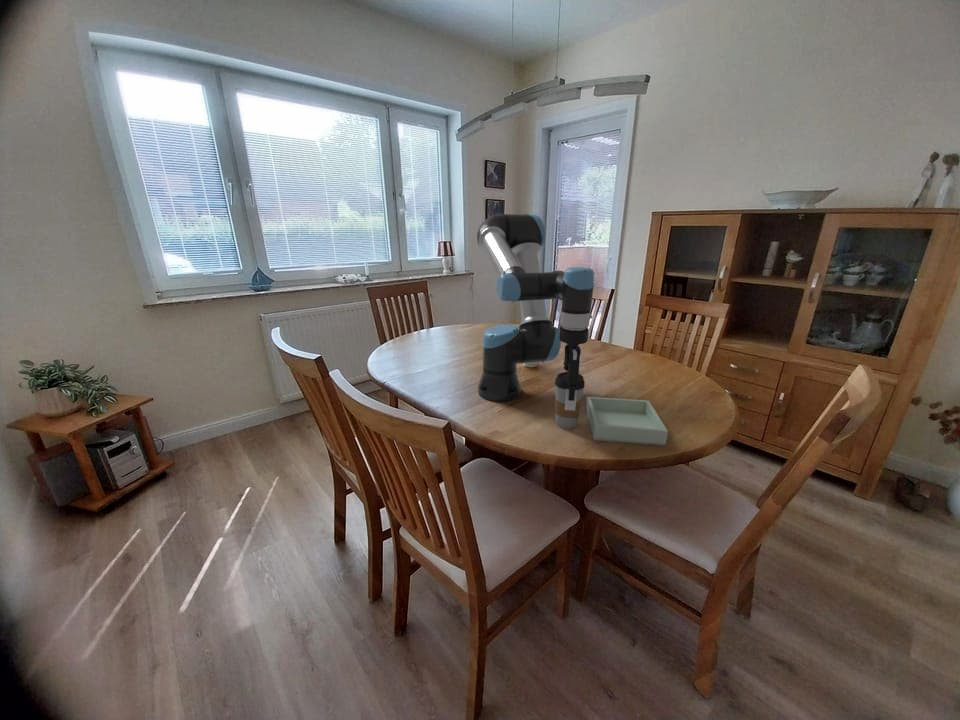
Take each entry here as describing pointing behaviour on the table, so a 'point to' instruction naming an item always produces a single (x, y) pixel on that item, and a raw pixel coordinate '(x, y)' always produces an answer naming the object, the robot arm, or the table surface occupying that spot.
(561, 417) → the coffee cup
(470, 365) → the table surface
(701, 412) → the table surface
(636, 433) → the tray
